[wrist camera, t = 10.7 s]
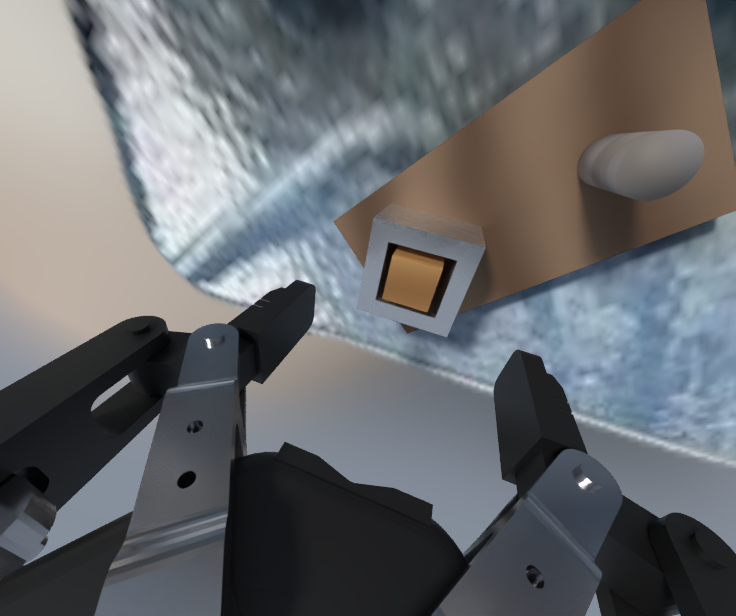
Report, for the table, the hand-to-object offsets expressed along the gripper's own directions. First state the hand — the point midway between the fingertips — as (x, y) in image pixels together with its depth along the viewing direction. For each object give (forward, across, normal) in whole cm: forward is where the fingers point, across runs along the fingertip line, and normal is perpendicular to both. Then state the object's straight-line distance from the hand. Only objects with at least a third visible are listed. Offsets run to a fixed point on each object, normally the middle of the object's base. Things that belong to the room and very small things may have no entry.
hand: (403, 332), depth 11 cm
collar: (+9, 0, 0) cm, 9 cm away
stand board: (+10, -3, -3) cm, 11 cm away
